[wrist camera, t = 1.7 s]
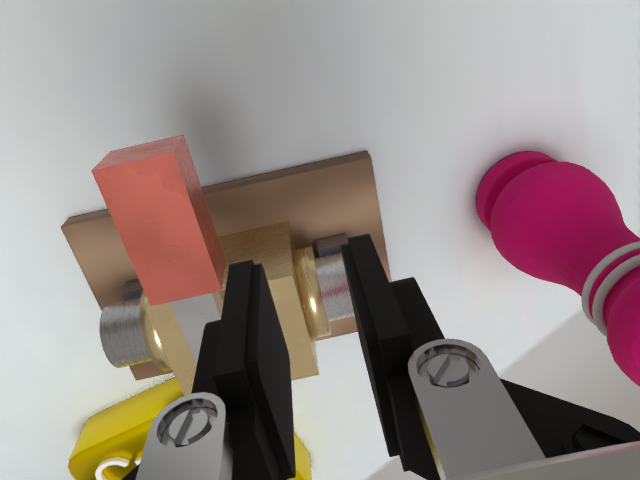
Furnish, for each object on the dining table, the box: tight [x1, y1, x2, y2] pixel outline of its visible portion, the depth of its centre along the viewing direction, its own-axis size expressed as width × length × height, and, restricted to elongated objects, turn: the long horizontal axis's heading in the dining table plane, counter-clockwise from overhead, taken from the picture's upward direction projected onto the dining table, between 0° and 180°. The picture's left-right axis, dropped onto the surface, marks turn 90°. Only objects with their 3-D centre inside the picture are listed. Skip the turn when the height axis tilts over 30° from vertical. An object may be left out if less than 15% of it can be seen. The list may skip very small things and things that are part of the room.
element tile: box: [68, 377, 312, 480], centre depth 41 cm, size 15×15×5 cm
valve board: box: [61, 151, 391, 380], centre depth 35 cm, size 13×20×2 cm, turn 102°
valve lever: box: [91, 135, 226, 366], centre depth 22 cm, size 14×3×2 cm, turn 12°
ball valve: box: [100, 221, 355, 396], centre depth 30 cm, size 7×16×10 cm, turn 102°
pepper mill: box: [476, 151, 640, 386], centre depth 26 cm, size 7×7×20 cm
